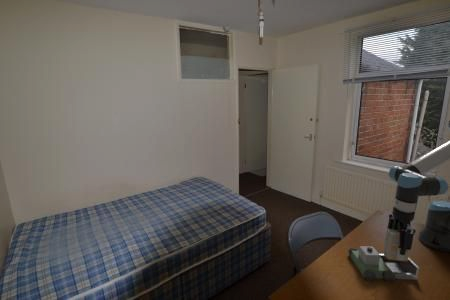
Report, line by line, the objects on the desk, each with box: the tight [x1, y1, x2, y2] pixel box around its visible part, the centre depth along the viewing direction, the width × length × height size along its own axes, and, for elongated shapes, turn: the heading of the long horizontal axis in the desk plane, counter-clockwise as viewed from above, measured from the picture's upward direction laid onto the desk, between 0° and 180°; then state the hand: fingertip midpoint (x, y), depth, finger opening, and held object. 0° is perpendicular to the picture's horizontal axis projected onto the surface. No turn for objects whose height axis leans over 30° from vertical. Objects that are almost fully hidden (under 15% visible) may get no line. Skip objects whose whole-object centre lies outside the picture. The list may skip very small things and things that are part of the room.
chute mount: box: [379, 253, 420, 281], centre depth 105 cm, size 11×13×6 cm
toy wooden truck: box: [347, 245, 396, 282], centre depth 106 cm, size 12×16×10 cm
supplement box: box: [382, 228, 411, 262], centre depth 103 cm, size 8×5×13 cm, turn 79°
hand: (395, 254), depth 104 cm, fingers closed on supplement box, 5 cm apart
